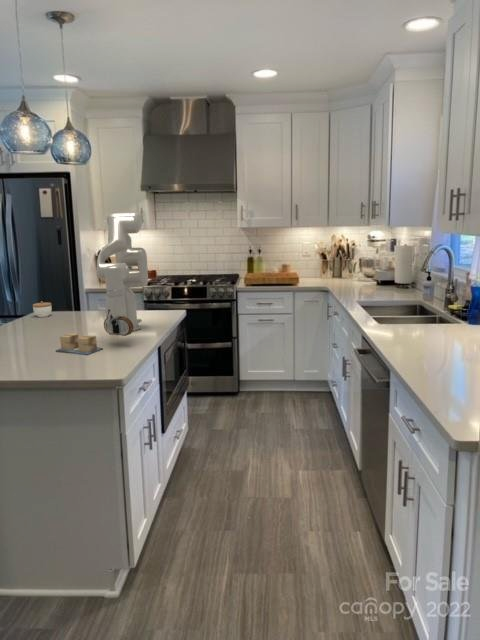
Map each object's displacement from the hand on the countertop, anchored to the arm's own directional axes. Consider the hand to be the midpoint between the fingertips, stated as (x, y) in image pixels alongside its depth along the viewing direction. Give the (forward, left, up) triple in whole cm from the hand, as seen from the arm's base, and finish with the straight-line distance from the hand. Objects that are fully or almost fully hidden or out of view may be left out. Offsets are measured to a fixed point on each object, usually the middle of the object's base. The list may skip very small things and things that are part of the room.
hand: (118, 331), depth 228 cm
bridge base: (+14, -12, -6) cm, 19 cm away
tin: (0, 0, -2) cm, 2 cm away
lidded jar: (-42, -89, -6) cm, 98 cm away
